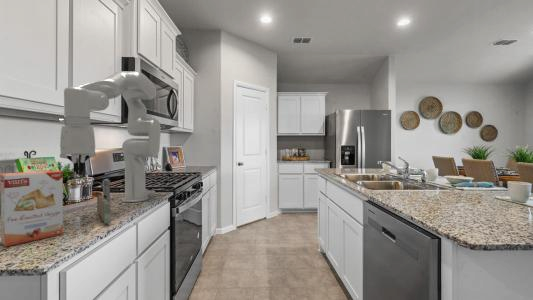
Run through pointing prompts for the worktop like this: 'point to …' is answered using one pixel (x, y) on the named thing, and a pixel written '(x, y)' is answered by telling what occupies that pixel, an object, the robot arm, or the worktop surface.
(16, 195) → the cracker box
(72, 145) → the robot arm
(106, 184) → the gatepost
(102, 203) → the gate
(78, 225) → the worktop surface
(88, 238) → the worktop surface
